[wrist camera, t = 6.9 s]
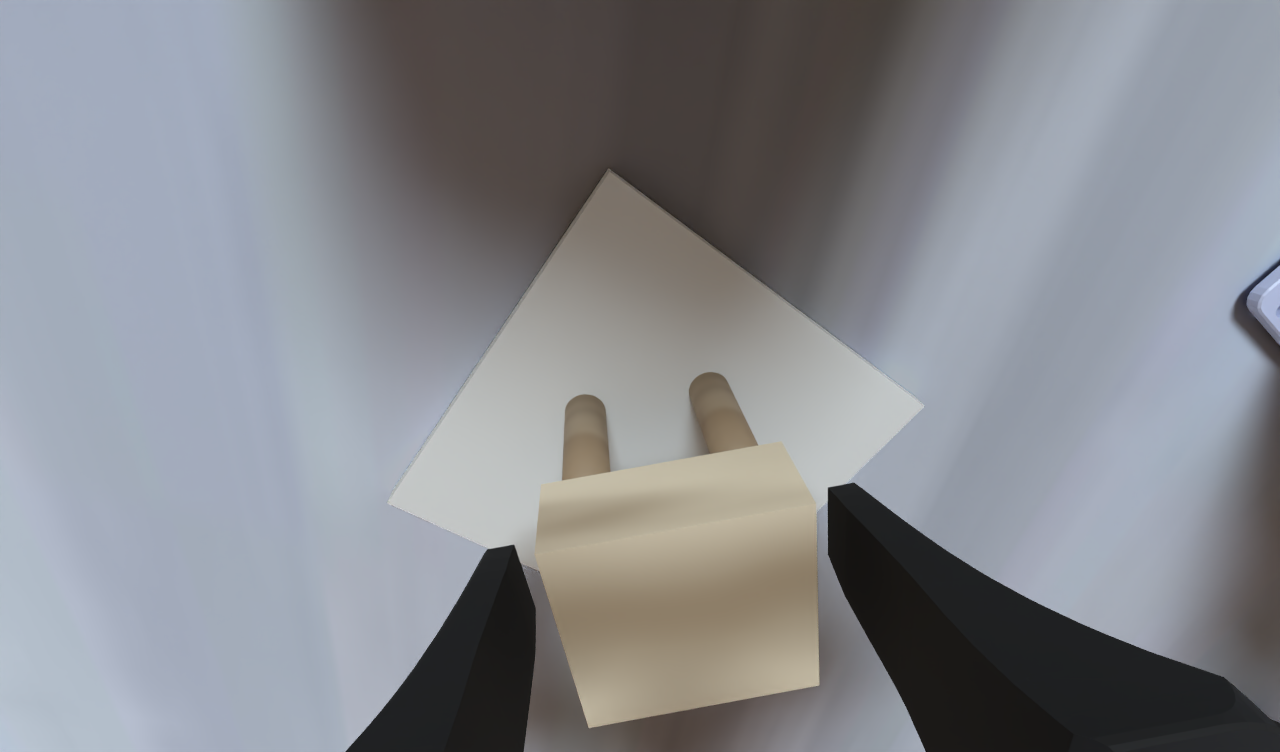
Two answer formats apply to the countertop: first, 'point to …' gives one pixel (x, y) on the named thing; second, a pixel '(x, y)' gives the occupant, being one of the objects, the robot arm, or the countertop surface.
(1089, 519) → the countertop surface
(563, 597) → the wooden stool
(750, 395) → the mat
